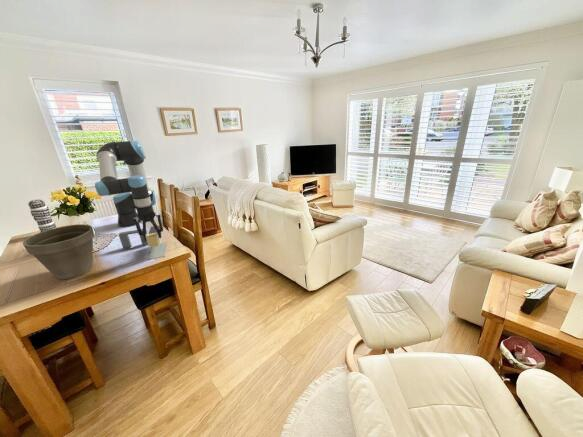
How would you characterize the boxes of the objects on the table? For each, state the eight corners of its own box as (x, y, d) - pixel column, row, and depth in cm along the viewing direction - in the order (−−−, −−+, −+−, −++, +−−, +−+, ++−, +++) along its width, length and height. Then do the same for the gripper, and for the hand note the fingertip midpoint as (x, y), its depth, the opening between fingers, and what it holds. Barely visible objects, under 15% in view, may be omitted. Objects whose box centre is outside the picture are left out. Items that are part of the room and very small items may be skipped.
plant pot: (104, 253, 140) (91, 219, 131) (106, 272, 122) (91, 234, 113) (46, 269, 125) (27, 232, 117) (39, 293, 107) (16, 252, 99)
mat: (152, 245, 147) (152, 245, 147) (167, 242, 150) (166, 242, 150) (148, 259, 132) (148, 259, 131) (164, 256, 134) (164, 256, 134)
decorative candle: (61, 233, 169) (46, 199, 159) (44, 238, 161) (27, 203, 152) (57, 230, 173) (42, 197, 164) (40, 235, 166) (23, 201, 156)
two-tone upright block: (153, 235, 145) (150, 226, 143) (161, 234, 147) (159, 225, 145) (149, 247, 132) (147, 237, 129) (158, 245, 133) (156, 236, 131)
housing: (124, 247, 146) (119, 232, 142) (150, 242, 151) (146, 228, 147) (123, 249, 143) (118, 234, 140) (149, 244, 148) (145, 230, 144)
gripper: (122, 210, 120) (135, 250, 128) (161, 204, 125) (171, 243, 134) (126, 205, 126) (138, 244, 135) (162, 200, 132) (172, 238, 141)
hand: (154, 243), depth 135 cm, fingers closed on two-tone upright block, 4 cm apart
